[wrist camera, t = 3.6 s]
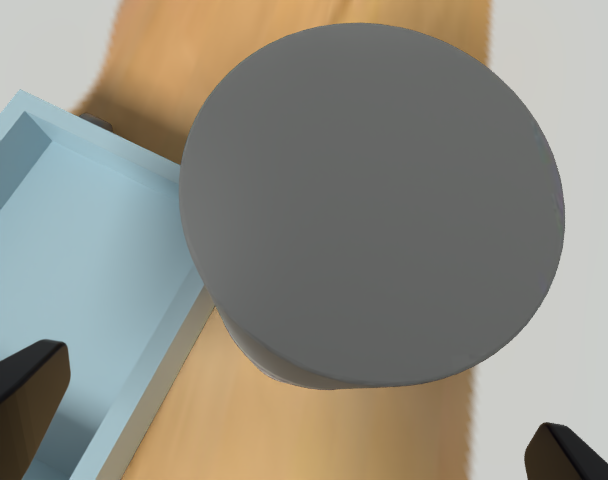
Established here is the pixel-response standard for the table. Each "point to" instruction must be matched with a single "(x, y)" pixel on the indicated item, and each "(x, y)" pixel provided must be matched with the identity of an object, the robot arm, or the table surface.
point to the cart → (94, 279)
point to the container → (369, 208)
